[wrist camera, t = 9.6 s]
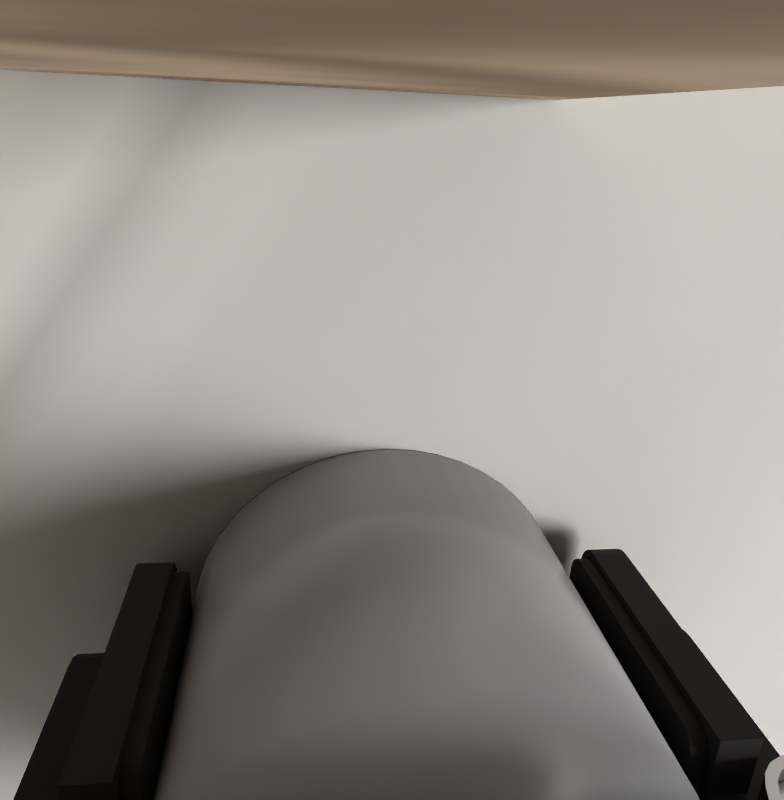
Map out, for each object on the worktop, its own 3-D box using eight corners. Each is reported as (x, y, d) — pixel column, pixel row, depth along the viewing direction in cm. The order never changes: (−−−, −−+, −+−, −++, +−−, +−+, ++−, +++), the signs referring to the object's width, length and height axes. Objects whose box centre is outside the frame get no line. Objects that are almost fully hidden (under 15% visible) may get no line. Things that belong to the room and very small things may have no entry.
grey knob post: (577, 447, 11) (771, 675, 7) (533, 739, 14) (656, 1063, 9) (184, 451, 11) (98, 712, 6) (203, 760, 13) (151, 1128, 8)
